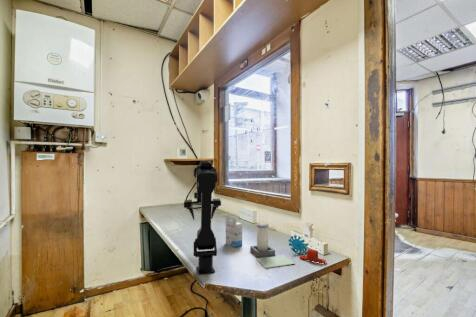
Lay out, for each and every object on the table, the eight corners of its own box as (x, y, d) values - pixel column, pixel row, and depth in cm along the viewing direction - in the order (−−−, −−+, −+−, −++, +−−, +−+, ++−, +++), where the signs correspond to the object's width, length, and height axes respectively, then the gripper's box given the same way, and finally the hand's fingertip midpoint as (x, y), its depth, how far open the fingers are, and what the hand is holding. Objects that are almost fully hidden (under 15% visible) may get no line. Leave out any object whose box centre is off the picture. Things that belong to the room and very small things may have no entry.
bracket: (298, 259, 107) (298, 248, 108) (301, 257, 111) (301, 246, 111) (324, 265, 101) (324, 253, 101) (326, 262, 104) (326, 251, 104)
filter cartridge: (270, 254, 112) (270, 225, 113) (259, 256, 110) (259, 226, 111) (265, 250, 117) (265, 222, 118) (254, 252, 116) (255, 223, 116)
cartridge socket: (275, 255, 111) (275, 250, 111) (257, 257, 108) (257, 252, 108) (266, 249, 120) (266, 244, 120) (250, 251, 117) (250, 246, 117)
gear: (292, 253, 110) (287, 233, 118) (287, 258, 114) (282, 239, 121) (312, 254, 113) (306, 235, 121) (307, 259, 117) (300, 241, 124)
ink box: (242, 245, 126) (242, 217, 126) (236, 247, 122) (236, 218, 123) (231, 241, 132) (231, 215, 132) (225, 243, 128) (225, 216, 129)
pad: (295, 264, 101) (295, 263, 101) (265, 268, 97) (265, 267, 97) (283, 256, 111) (283, 255, 111) (256, 259, 106) (256, 258, 106)
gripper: (218, 186, 131) (219, 213, 132) (184, 187, 128) (185, 215, 128) (220, 189, 120) (221, 219, 121) (183, 191, 117) (184, 222, 117)
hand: (202, 219), depth 122 cm, fingers open, 9 cm apart
